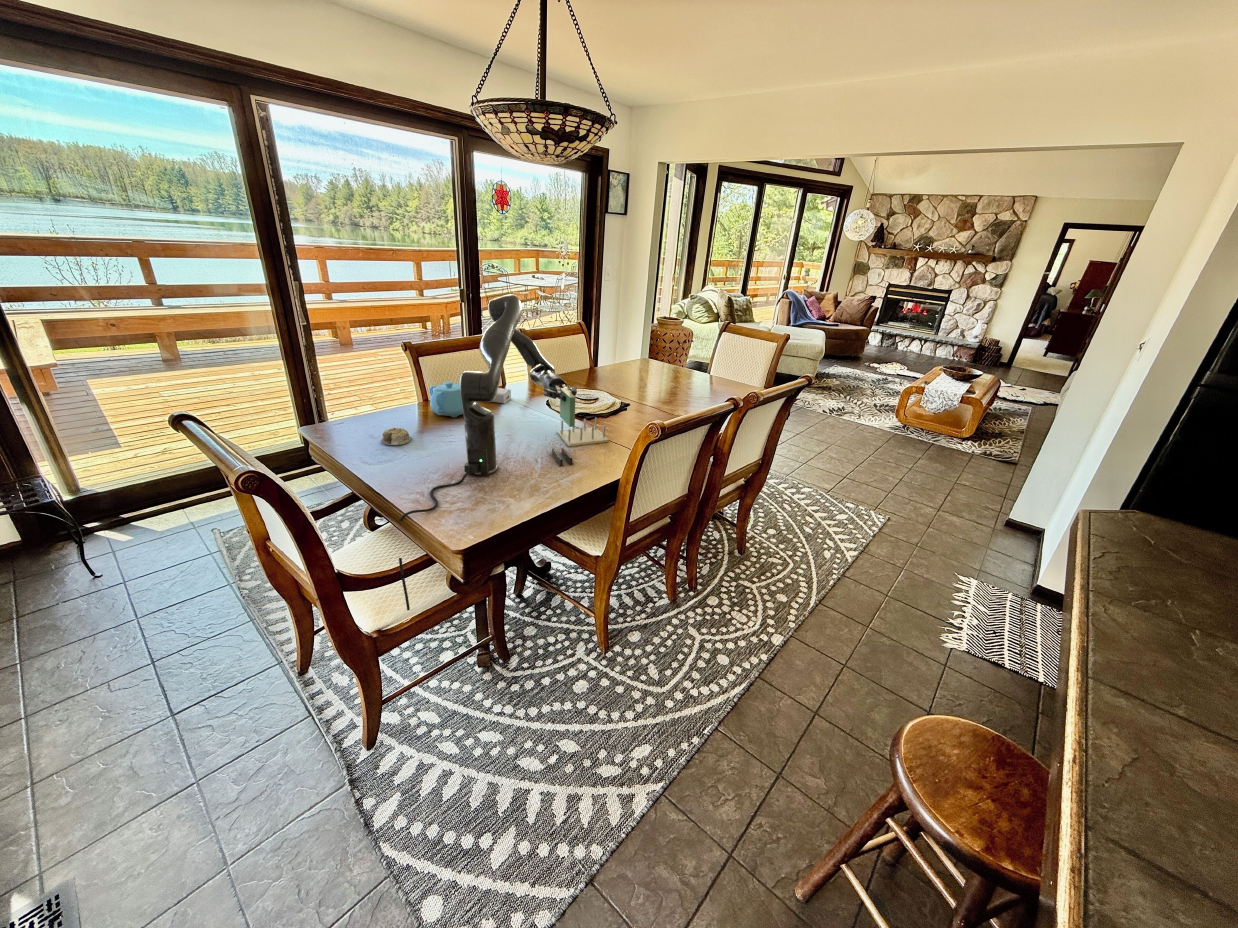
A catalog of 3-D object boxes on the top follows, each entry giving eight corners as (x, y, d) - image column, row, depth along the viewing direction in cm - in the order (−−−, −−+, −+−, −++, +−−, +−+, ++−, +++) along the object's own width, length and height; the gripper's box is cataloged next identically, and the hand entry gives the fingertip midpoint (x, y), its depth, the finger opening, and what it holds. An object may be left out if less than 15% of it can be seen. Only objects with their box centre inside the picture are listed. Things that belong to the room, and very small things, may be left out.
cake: (399, 434, 183) (398, 421, 181) (416, 441, 179) (416, 428, 177) (375, 440, 175) (374, 426, 173) (393, 448, 171) (392, 433, 169)
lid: (574, 426, 172) (575, 397, 167) (569, 427, 171) (570, 397, 166) (565, 416, 180) (565, 387, 176) (559, 416, 180) (560, 388, 175)
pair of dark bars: (572, 464, 168) (572, 458, 167) (560, 466, 166) (560, 459, 165) (563, 453, 176) (563, 447, 175) (551, 454, 175) (551, 448, 174)
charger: (481, 395, 231) (511, 398, 229) (473, 400, 223) (504, 404, 221) (480, 385, 229) (510, 388, 227) (472, 390, 221) (503, 394, 219)
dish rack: (608, 441, 189) (609, 427, 186) (568, 446, 182) (569, 431, 180) (595, 429, 200) (596, 415, 197) (557, 433, 194) (557, 419, 191)
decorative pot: (469, 405, 216) (467, 376, 211) (473, 417, 203) (471, 386, 197) (430, 408, 210) (427, 378, 205) (432, 420, 197) (429, 388, 191)
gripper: (536, 376, 181) (549, 389, 167) (571, 374, 186) (587, 387, 172) (536, 395, 184) (549, 410, 170) (570, 392, 189) (586, 407, 175)
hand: (568, 398), depth 171 cm, fingers closed on lid, 2 cm apart
